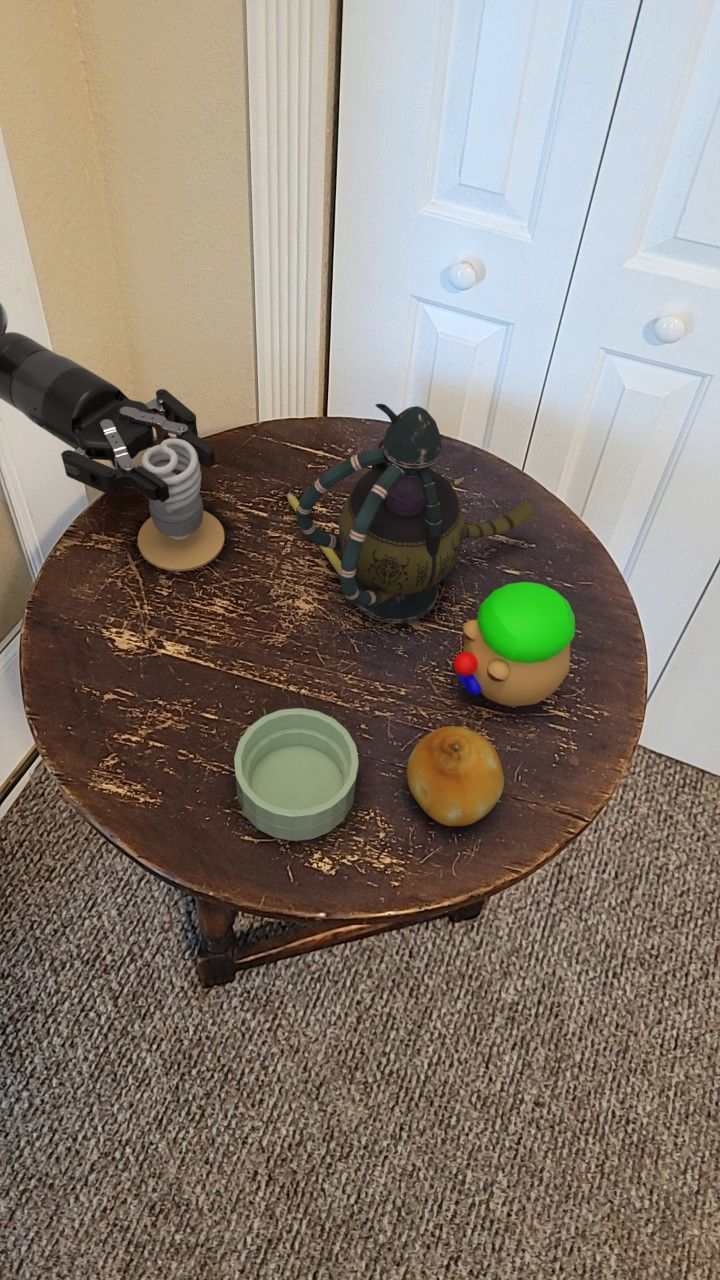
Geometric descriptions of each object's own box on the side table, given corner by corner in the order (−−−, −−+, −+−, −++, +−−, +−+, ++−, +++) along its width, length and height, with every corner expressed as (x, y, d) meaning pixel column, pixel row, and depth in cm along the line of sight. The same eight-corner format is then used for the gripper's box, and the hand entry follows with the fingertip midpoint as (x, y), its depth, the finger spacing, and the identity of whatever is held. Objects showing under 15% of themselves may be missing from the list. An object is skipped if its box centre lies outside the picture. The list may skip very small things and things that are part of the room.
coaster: (154, 582, 94) (154, 579, 94) (126, 523, 99) (126, 520, 98) (237, 555, 97) (237, 553, 96) (206, 500, 102) (206, 497, 101)
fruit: (372, 781, 79) (426, 760, 72) (421, 720, 84) (476, 696, 77) (435, 850, 80) (493, 836, 73) (480, 786, 85) (538, 768, 78)
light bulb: (204, 557, 96) (194, 470, 86) (149, 555, 96) (133, 467, 86) (210, 518, 99) (201, 430, 90) (157, 516, 99) (143, 427, 90)
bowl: (265, 862, 76) (263, 835, 72) (219, 763, 82) (216, 733, 78) (375, 815, 80) (379, 786, 76) (324, 723, 85) (326, 692, 81)
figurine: (525, 632, 93) (551, 550, 83) (576, 707, 87) (610, 629, 78) (424, 665, 90) (439, 583, 80) (469, 745, 84) (491, 668, 75)
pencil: (289, 492, 103) (289, 485, 102) (349, 577, 96) (350, 571, 95) (281, 495, 103) (281, 488, 102) (341, 580, 95) (341, 574, 95)
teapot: (289, 576, 95) (288, 391, 77) (493, 504, 104) (535, 322, 85) (343, 662, 89) (355, 483, 71) (555, 578, 97) (615, 398, 79)
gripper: (2, 405, 88) (129, 486, 82) (115, 338, 95) (239, 408, 89) (21, 465, 94) (140, 545, 88) (126, 397, 101) (242, 467, 95)
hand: (189, 476), depth 89 cm, fingers closed on light bulb, 5 cm apart
